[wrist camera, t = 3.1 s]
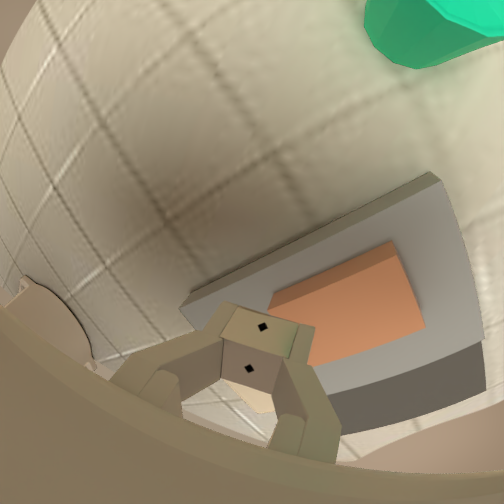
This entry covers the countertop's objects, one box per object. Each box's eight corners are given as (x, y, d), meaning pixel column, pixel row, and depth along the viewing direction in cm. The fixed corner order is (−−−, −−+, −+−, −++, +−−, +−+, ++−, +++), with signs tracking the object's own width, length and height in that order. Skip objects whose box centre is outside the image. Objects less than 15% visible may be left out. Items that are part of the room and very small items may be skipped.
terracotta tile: (313, 349, 23) (309, 367, 21) (273, 293, 21) (266, 310, 20) (421, 309, 18) (425, 327, 17) (391, 240, 17) (396, 254, 15)
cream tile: (316, 387, 25) (313, 404, 23) (263, 398, 28) (257, 413, 26) (262, 317, 23) (255, 334, 21) (207, 337, 25) (197, 352, 24)
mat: (332, 434, 32) (331, 437, 32) (290, 388, 29) (289, 391, 29) (485, 387, 23) (486, 390, 22) (477, 323, 20) (478, 326, 20)
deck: (272, 389, 30) (266, 407, 28) (190, 292, 27) (178, 308, 25) (476, 320, 20) (484, 338, 18) (430, 171, 17) (441, 180, 15)
